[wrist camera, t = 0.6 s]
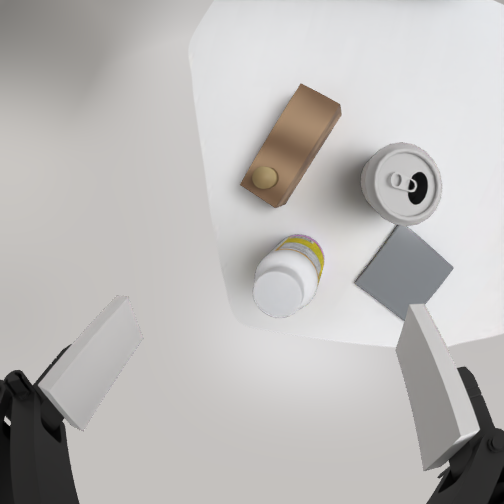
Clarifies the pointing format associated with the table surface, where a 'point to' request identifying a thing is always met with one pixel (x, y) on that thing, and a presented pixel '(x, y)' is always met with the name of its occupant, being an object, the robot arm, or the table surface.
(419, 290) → the trivet
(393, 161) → the can
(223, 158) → the table surface
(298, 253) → the supplement bottle
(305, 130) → the walnut block
